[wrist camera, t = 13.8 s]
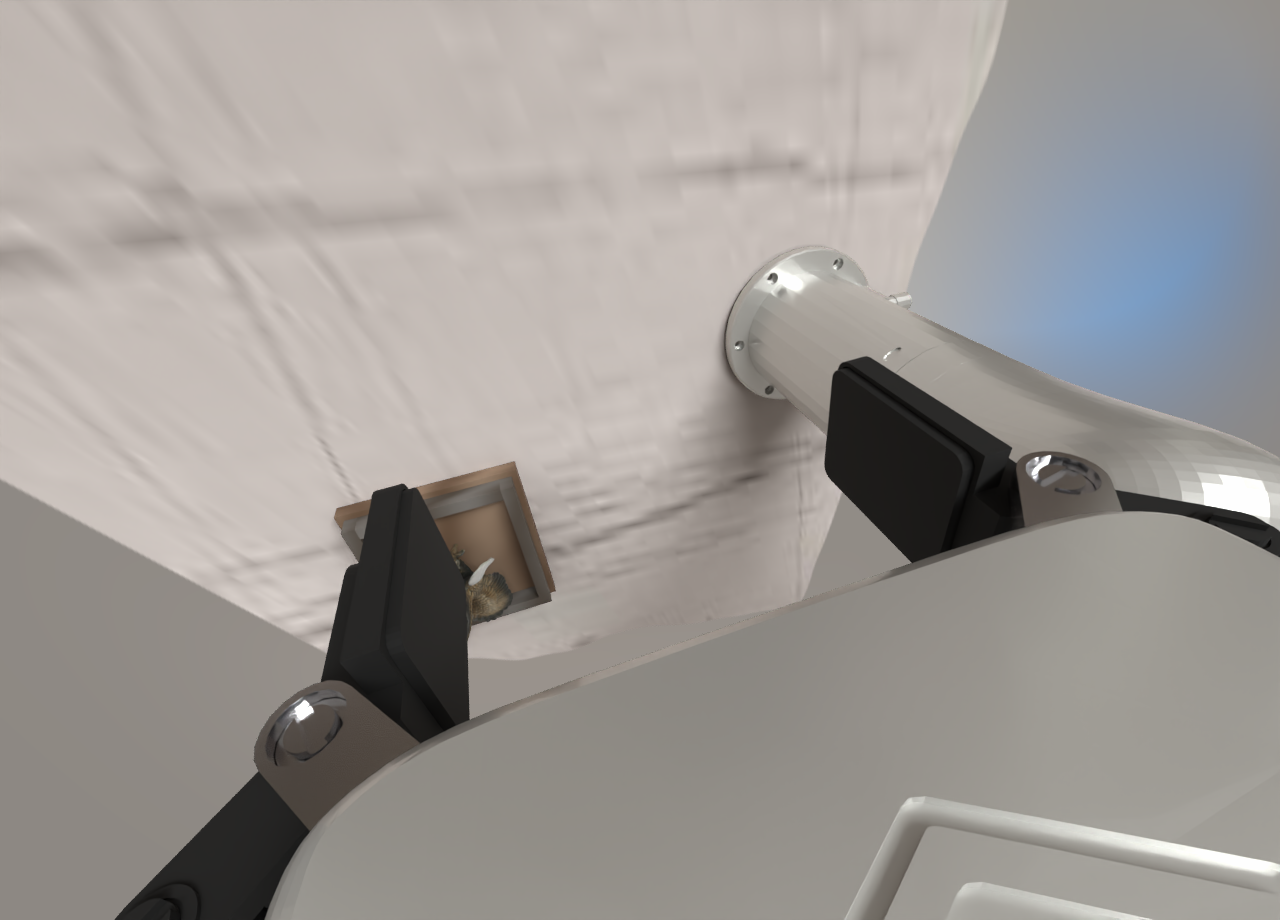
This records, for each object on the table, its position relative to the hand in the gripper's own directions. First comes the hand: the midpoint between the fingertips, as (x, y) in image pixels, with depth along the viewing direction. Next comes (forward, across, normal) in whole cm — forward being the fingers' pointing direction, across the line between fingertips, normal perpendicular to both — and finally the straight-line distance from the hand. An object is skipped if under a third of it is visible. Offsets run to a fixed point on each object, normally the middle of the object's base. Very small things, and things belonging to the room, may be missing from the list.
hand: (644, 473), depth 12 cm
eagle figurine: (+26, +12, +27) cm, 40 cm away
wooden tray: (+28, +12, +25) cm, 40 cm away
